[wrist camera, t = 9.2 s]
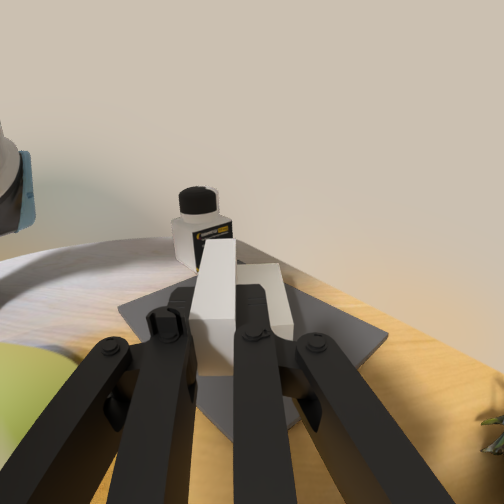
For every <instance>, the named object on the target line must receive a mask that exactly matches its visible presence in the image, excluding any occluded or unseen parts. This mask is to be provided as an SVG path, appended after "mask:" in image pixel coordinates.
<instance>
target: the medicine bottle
mask: <svg viewBox="0 0 504 504" xmlns="http://www.w3.org/2000/svg"><path fill="white" fill-rule="evenodd" d="M179 204H180V213H181V217H179V218H176V219H173V220H171V224H172V232H173V240H174V248H175V255H176V259H177V260H178V261H179V262H181V263H182V264H184V265H185V266H187V267H188V268H189V269H191V270H192V271H194V272H195V273H197V274H198V273H199V268H200V264H201V259H202V255H203V251H204V246H205V242H206V239H232V238H233V233H232V220H231V219H230V218H227V217H225V216H222V215H219V197H218V191H217V190H216V189H215V188H213V187H210V186H196V187H190V188H187V189H185V190H183V191H182V192H180V194H179Z"/></svg>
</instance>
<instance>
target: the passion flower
mask: <svg viewBox="0 0 504 504" xmlns="http://www.w3.org/2000/svg"><path fill="white" fill-rule="evenodd" d="M490 424H502V425H504V415H503V416H500V417H497V418H491V419H487V420H485V421H484V422H482V423H481V425H490ZM480 452H491V453H493V454H494V455H501V454H503V455H504V432H503V434H502V435H501V436H500V437H499V438H498V439H497V440H496V441H495V442H494V443H493V444H491V445H490V446H488V447H487V448H485V449H483V450H481V451H480Z"/></svg>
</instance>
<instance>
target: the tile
mask: <svg viewBox="0 0 504 504" xmlns="http://www.w3.org/2000/svg"><path fill="white" fill-rule="evenodd" d="M237 277H238V284H260V285H261V286H262V287H263V288H264V289H265V292H266V299H267V306H268V313H269V320H270V326H271V329H272V331H273V332H274V334H276V335H277V336H279V337H281V338H283V339H287V340H292V341H293V329H294V323H293V319H292V315H291V311H290V307H289V303H288V299H287V295H286V291H285V287H284V282H283V278H282V274H281V270H280V266H279V263H264V264H241V265H237Z"/></svg>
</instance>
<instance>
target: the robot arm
mask: <svg viewBox="0 0 504 504" xmlns="http://www.w3.org/2000/svg"><path fill="white" fill-rule="evenodd" d="M35 218H36V214H35V203H34V195H33V182H32V170H31V157H30V153H29V152H28V151H18V149H17V147H16V145H15V144H14V143H13V142H12V141H11V140H9V139H8V138H6V137H4V135H3V131H2V127H1V123H0V237H1V236H4V235H7V234H10V233H18V232H19V231H20V230H22V229H25V228H27V227H29V226H31V225H32V224H33V223H34V221H35ZM146 320H147V324H148V328H149V332H150V336H151V337H150V340H148V341H146V342H143V343H139V344H134V345H129V344H128V342H127V341H126V340H125V339H123V338H121V337H115V336H113V337H108V338H105V339H103V340H101V341H99V342H98V343H97V344H96V345H95V346H94V347H93V349H92V350H91V351H90V352H89V354H88V355H87V356H86V357H85V358H84V360H83V361H82V362H81V363H80V365H79V366H78V367H77V368H76V370H75V371H74V372H73V373H72V375H71V376H70V377H69V378H68V380H67V381H66V382H65V383H64V385H63V386H62V387H61V389H60V390H59V391H58V392H57V394H56V395H55V396H54V397H53V399H52V400H51V401H50V403H49V404H48V405H47V407H46V408H45V409H44V411H43V412H42V413H41V415H40V416H39V418H38V419H37V420H36V421H35V423H34V424H33V425H32V427H31V428H30V430H29V431H28V432H27V434H26V435H25V436H24V438H23V439H22V440H21V442H20V443H19V445H18V446H17V448H16V449H15V450H14V452H13V453H12V455H11V456H10V458H9V459H8V461H7V462H6V463H5V465H4V466H3V468H2V469H1V471H0V504H90V502H91V500H92V498H93V496H94V494H95V492H96V491H97V489H98V487H99V485H100V483H101V481H102V479H103V478H104V476H105V474H106V472H107V470H108V468H109V466H110V465H111V463H112V461H113V459H114V457H115V455H116V454H117V457H116V461H115V466H114V470H113V474H112V479H111V483H110V488H109V493H108V497H107V502H106V504H188V495H189V481H190V468H191V455H192V443H193V432H194V421H195V411H196V401H197V391H198V384H197V379H196V375H197V369H198V375H199V376H233V484H234V504H297V498H296V490H295V483H294V475H293V468H292V461H291V453H290V446H289V439H288V431H287V424H286V417H285V410H284V403H283V396H286V397H291V398H292V401H293V403H294V405H295V407H296V409H297V411H298V413H299V415H300V417H301V419H302V421H303V423H304V425H305V427H306V429H307V431H308V433H309V435H310V437H311V439H312V440H313V442H314V444H315V446H316V448H317V450H318V452H319V454H320V456H321V458H322V460H323V461H324V463H325V465H326V467H327V469H328V471H329V473H330V475H331V477H332V478H333V480H334V482H335V484H336V486H337V488H338V490H339V491H340V493H341V495H342V497H343V499H344V501H345V502H346V504H455V502H454V501H453V499H452V498H451V497H450V495H449V494H448V492H447V491H446V490H445V488H444V487H443V486H442V484H441V483H440V481H439V480H438V479H437V477H436V476H435V475H434V473H433V472H432V470H431V469H430V468H429V466H428V465H427V464H426V462H425V461H424V459H423V458H422V457H421V455H420V454H419V453H418V451H417V450H416V449H415V447H414V446H413V444H412V443H411V442H410V440H409V439H408V438H407V436H406V435H405V434H404V432H403V431H402V430H401V428H400V427H399V426H398V424H397V423H396V422H395V420H394V419H393V417H392V416H391V415H390V413H389V412H388V411H387V409H386V408H385V407H384V405H383V404H382V403H381V401H380V400H379V399H378V397H377V396H376V395H375V393H374V392H373V391H372V389H371V388H370V387H369V385H368V384H367V383H366V381H365V380H364V379H363V377H362V376H361V375H360V373H359V372H358V371H357V369H356V368H355V367H354V365H353V364H352V363H351V361H350V360H349V359H348V357H347V356H346V355H345V354H344V352H343V351H342V350H341V348H340V347H339V346H338V344H337V343H336V342H335V340H334V339H332V338H331V337H330V336H328V335H326V334H324V333H318V332H313V333H307V334H304V335H302V336H301V337H300V338H299V339H298V340H297V341H292V340H287V339H283V338H281V337H279V336H277V335H276V334H274V332H273V331H272V329H271V326H270V320H269V313H268V306H267V299H266V292H265V289H264V288H263V287H262V286H261V285H260V284H238V277H237V255H236V238H232V239H206V242H205V246H204V251H203V255H202V259H201V264H200V268H199V273H198V277H197V282H196V286H195V287H177V288H176V289H175V290H174V291H173V292H172V293H171V295H170V298H169V302H168V304H167V306H162V307H158V308H156V309H153V310H152V311H150V312H149V313H148V315H147V316H146ZM117 452H118V453H117Z"/></svg>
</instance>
